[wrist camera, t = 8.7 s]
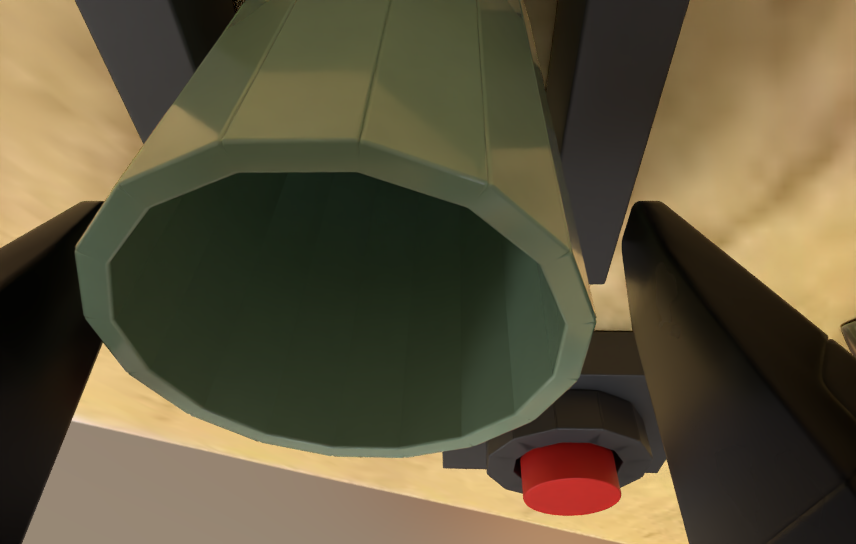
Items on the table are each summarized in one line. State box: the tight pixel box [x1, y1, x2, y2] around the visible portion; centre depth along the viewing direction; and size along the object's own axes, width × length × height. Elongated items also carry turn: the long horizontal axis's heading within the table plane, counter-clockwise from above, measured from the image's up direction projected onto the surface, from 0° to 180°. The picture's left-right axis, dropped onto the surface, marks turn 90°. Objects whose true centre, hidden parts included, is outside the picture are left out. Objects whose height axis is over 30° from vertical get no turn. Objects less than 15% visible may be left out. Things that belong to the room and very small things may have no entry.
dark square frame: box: [75, 0, 690, 284], centre depth 13 cm, size 12×12×3 cm
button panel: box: [443, 332, 667, 494], centre depth 25 cm, size 11×9×4 cm
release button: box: [520, 442, 621, 516], centre depth 23 cm, size 4×4×2 cm
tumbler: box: [75, 0, 596, 458], centre depth 11 cm, size 7×7×10 cm
